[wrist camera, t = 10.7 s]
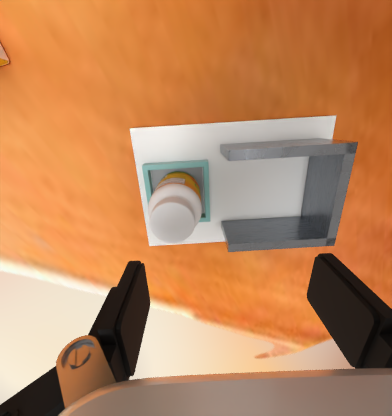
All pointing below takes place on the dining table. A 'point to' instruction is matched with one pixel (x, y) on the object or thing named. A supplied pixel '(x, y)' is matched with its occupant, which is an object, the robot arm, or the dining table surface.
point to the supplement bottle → (175, 207)
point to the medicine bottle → (3, 57)
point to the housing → (312, 200)
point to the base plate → (227, 169)
